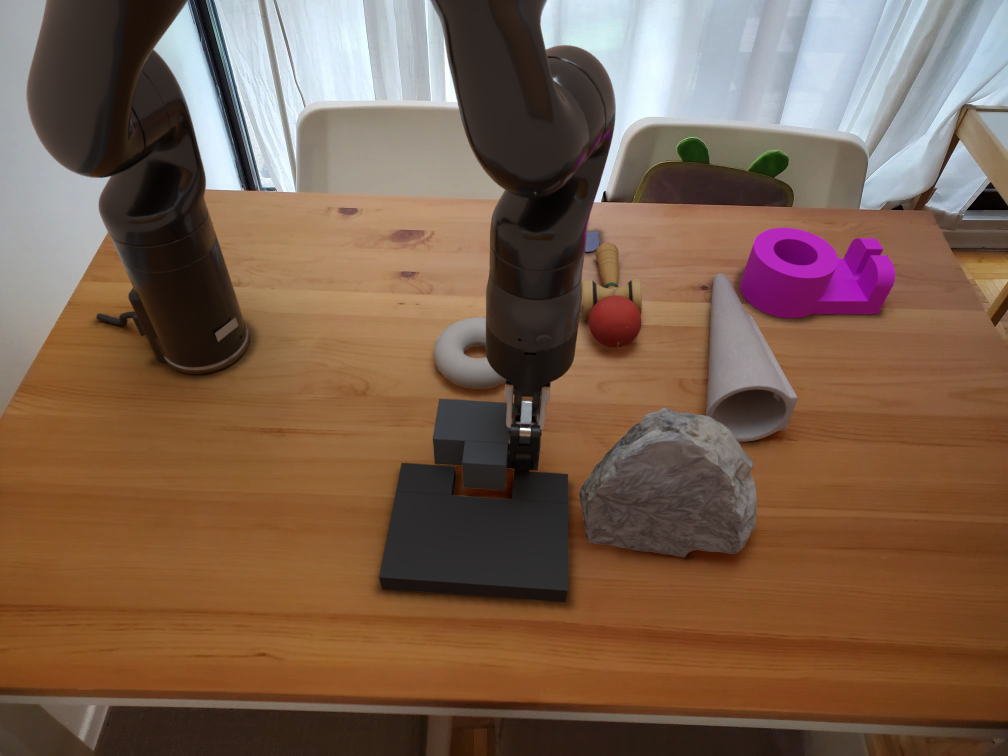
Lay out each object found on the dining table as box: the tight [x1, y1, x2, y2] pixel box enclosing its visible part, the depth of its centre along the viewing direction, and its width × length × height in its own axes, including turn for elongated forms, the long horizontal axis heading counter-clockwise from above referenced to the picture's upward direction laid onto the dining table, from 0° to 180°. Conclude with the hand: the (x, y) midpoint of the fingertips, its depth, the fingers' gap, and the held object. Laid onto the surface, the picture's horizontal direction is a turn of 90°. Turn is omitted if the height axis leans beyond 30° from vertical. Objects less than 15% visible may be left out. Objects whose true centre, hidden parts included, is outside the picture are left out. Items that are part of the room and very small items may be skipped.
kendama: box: [582, 242, 643, 350], centre depth 87 cm, size 8×6×18 cm
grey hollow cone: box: [705, 272, 798, 443], centre depth 82 cm, size 8×9×26 cm
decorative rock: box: [578, 407, 758, 558], centre depth 62 cm, size 16×7×15 cm, turn 82°
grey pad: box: [432, 398, 542, 491], centre depth 69 cm, size 10×8×4 cm
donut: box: [432, 316, 505, 390], centre depth 80 cm, size 10×4×10 cm
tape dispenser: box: [739, 227, 896, 319], centre depth 89 cm, size 16×10×6 cm, turn 92°
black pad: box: [378, 462, 569, 603], centre depth 66 cm, size 16×12×2 cm
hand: (523, 443), depth 70 cm, fingers closed on grey pad, 5 cm apart
